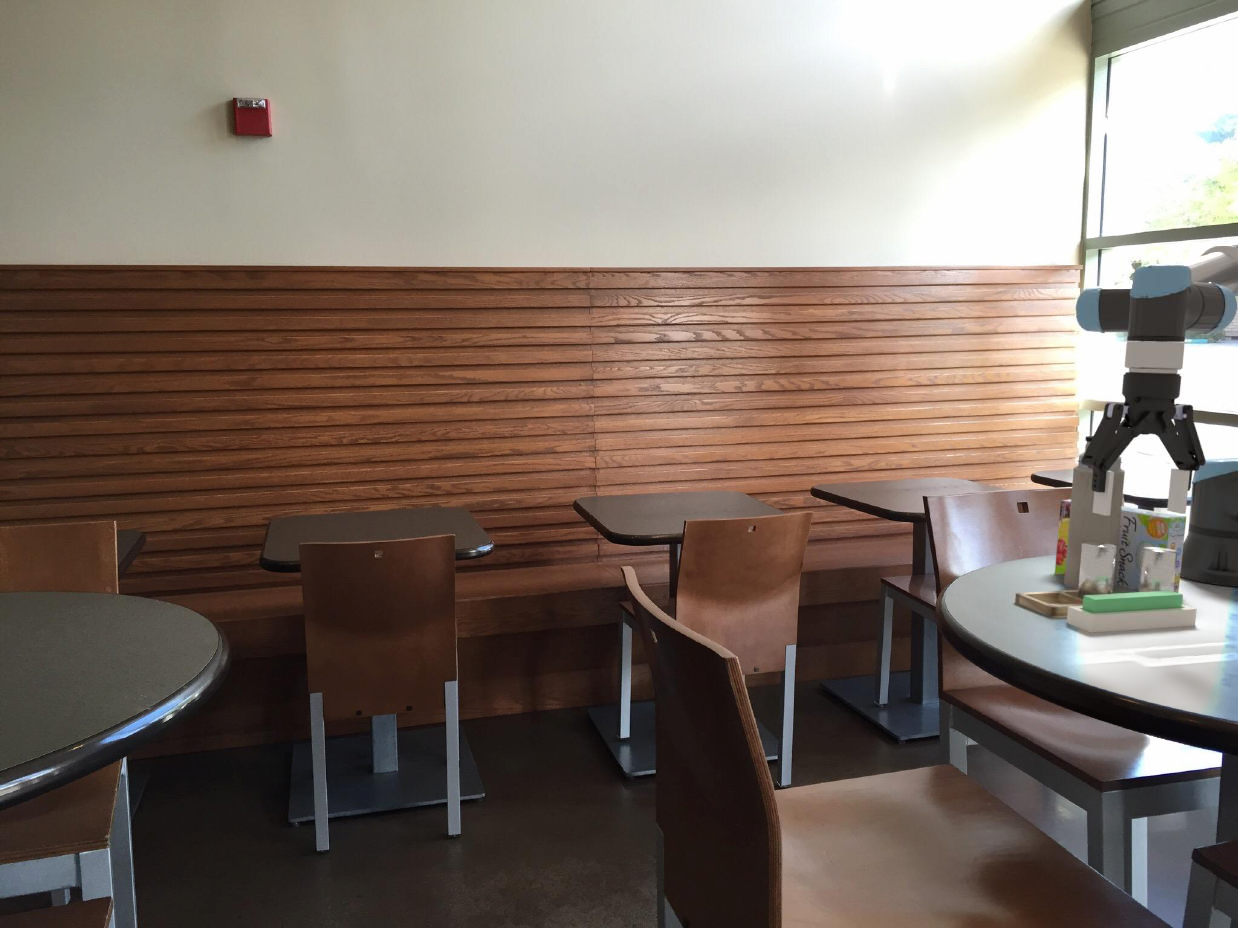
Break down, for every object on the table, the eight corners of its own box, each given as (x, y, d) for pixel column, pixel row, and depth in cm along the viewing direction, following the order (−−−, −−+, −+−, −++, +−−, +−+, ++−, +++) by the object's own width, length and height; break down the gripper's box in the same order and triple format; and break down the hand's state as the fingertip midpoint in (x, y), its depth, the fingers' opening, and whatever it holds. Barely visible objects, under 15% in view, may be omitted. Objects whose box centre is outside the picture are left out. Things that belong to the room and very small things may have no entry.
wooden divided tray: (1092, 604, 164) (1094, 587, 163) (1138, 621, 154) (1140, 603, 154) (1011, 609, 159) (1012, 591, 159) (1053, 627, 150) (1054, 608, 149)
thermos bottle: (1106, 590, 174) (1119, 435, 170) (1119, 602, 166) (1134, 439, 162) (1058, 587, 175) (1071, 433, 172) (1069, 598, 167) (1083, 437, 164)
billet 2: (1154, 605, 160) (1159, 546, 159) (1178, 613, 155) (1184, 552, 154) (1129, 607, 159) (1134, 547, 158) (1153, 615, 154) (1159, 554, 153)
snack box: (1180, 601, 168) (1188, 515, 166) (1160, 604, 165) (1169, 517, 163) (1071, 574, 186) (1077, 496, 184) (1052, 577, 183) (1058, 498, 181)
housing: (1167, 625, 152) (1170, 600, 152) (1194, 634, 148) (1196, 609, 147) (1065, 631, 148) (1068, 606, 147) (1089, 641, 143) (1091, 615, 142)
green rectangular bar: (1167, 615, 151) (1170, 590, 150) (1180, 619, 148) (1182, 594, 148) (1081, 621, 146) (1083, 595, 146) (1092, 625, 144) (1095, 599, 144)
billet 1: (1095, 600, 161) (1100, 541, 159) (1118, 608, 156) (1123, 547, 154) (1070, 602, 159) (1075, 542, 158) (1092, 610, 154) (1097, 548, 153)
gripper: (1200, 371, 149) (1186, 507, 152) (1063, 369, 143) (1051, 510, 146) (1242, 373, 142) (1227, 515, 145) (1100, 370, 136) (1087, 519, 139)
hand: (1139, 513), depth 145 cm, fingers open, 13 cm apart
